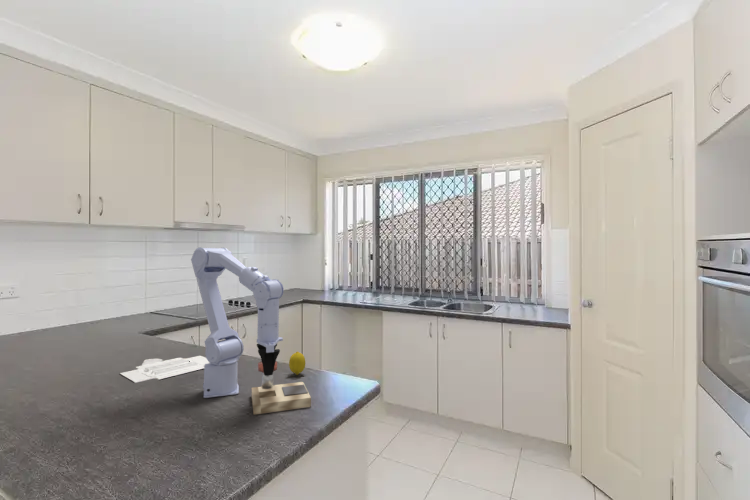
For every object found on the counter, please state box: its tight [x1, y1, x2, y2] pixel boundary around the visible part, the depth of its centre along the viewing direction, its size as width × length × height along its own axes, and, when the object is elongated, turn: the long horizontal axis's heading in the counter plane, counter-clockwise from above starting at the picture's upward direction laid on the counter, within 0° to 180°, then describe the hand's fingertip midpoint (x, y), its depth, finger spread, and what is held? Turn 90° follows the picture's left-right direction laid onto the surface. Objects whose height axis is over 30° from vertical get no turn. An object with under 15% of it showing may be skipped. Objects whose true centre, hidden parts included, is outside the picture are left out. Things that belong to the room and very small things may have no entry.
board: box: [251, 381, 312, 416], centre depth 105 cm, size 15×13×3 cm
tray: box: [119, 355, 209, 384], centre depth 134 cm, size 20×28×4 cm
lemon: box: [288, 351, 306, 376], centre depth 128 cm, size 6×6×8 cm
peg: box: [257, 360, 278, 389], centre depth 104 cm, size 5×5×7 cm
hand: (267, 371), depth 104 cm, fingers closed on peg, 5 cm apart
